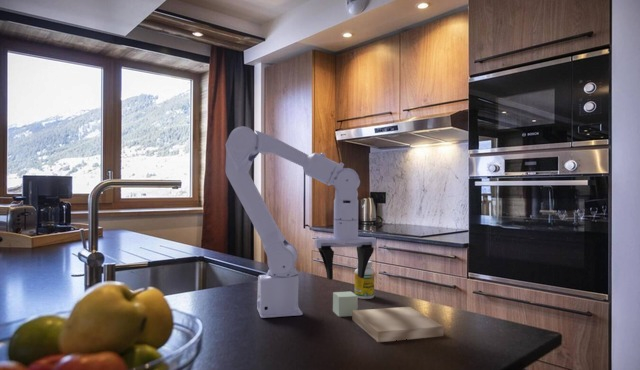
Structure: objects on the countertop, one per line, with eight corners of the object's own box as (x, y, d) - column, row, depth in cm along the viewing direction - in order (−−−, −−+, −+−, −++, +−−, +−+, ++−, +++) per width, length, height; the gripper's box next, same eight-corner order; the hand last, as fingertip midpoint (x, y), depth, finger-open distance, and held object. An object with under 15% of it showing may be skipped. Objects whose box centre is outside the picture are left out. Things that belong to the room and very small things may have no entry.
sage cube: (338, 317, 93) (338, 297, 94) (332, 311, 98) (333, 292, 98) (357, 315, 95) (357, 296, 95) (350, 310, 99) (350, 291, 99)
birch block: (377, 345, 78) (378, 331, 78) (352, 321, 91) (352, 310, 91) (443, 338, 82) (443, 326, 82) (409, 317, 95) (409, 306, 95)
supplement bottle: (365, 293, 115) (366, 258, 115) (378, 297, 111) (378, 261, 111) (350, 295, 112) (350, 260, 112) (362, 300, 108) (363, 263, 108)
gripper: (320, 221, 91) (320, 283, 91) (381, 220, 95) (381, 279, 94) (312, 219, 98) (312, 276, 97) (369, 218, 101) (369, 273, 101)
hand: (345, 277), depth 96 cm, fingers open, 7 cm apart
